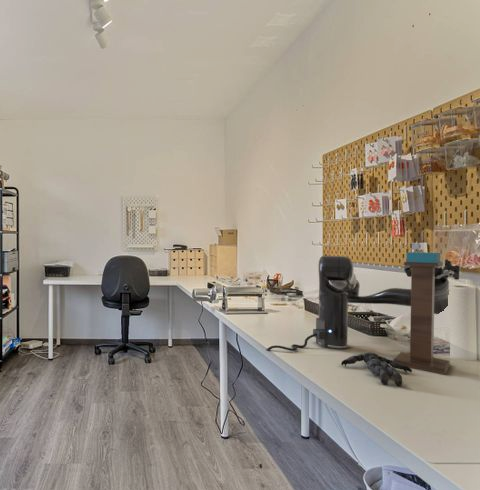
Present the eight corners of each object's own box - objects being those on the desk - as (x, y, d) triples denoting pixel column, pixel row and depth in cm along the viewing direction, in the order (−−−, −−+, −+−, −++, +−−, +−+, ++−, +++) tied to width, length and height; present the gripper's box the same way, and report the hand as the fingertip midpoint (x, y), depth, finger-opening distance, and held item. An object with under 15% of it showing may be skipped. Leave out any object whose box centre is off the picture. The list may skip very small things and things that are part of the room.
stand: (445, 374, 105) (447, 263, 104) (393, 364, 114) (395, 261, 113) (449, 365, 113) (451, 262, 112) (400, 356, 122) (402, 260, 121)
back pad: (436, 263, 107) (436, 253, 107) (406, 262, 112) (406, 252, 112) (443, 261, 120) (444, 252, 120) (416, 260, 125) (416, 251, 125)
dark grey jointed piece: (432, 392, 93) (399, 365, 112) (433, 375, 93) (400, 351, 112) (352, 383, 99) (334, 358, 118) (353, 367, 99) (334, 345, 118)
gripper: (460, 293, 125) (457, 272, 115) (408, 289, 135) (401, 269, 126) (462, 274, 127) (459, 252, 117) (410, 271, 138) (403, 250, 128)
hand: (429, 261), depth 121 cm, fingers open, 8 cm apart
